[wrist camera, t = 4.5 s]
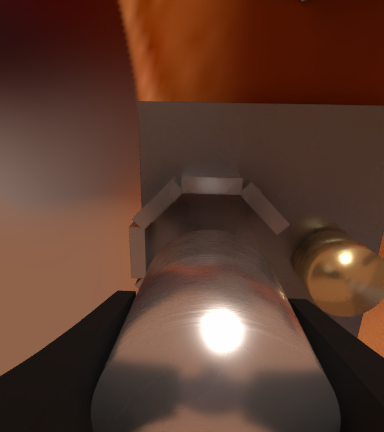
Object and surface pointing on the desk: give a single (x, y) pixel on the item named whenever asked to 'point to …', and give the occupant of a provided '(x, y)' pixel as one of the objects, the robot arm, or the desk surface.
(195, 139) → the carrier plate
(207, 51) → the desk surface
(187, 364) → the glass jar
